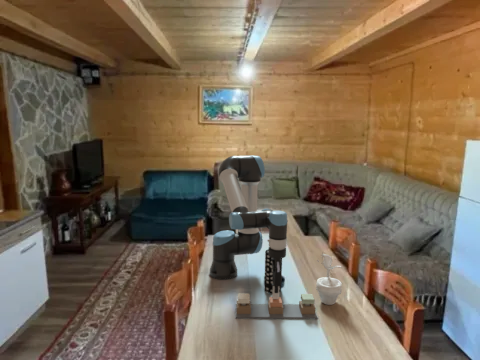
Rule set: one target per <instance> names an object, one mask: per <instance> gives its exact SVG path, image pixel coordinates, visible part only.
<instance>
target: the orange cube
mask: <svg viewBox="0 0 480 360" xmlns="http://www.w3.org/2000/svg"><path fill="white" fill-rule="evenodd" d="M268 301H269V302H270V307H282V304H283V300H282V297H281V296H279V299H273V298H272V296H269V299H268Z"/></svg>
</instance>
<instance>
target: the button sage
mask: <svg viewBox="0 0 480 360" xmlns="http://www.w3.org/2000/svg"><path fill="white" fill-rule="evenodd" d="M300 301H302V303H303V304H305V306H310V304H314V305H315V297H314V294H312V293H300Z"/></svg>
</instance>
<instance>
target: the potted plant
mask: <svg viewBox="0 0 480 360" xmlns="http://www.w3.org/2000/svg"><path fill="white" fill-rule="evenodd" d="M320 256H321V258H322V260H323V261H322V262H321V263H320V264H321V266H323V267H324V269H326V276H324V277H319V278H317V280H316V287H315V289H316V292H318V295H319V298H320V301H321V303H322V304H325V305H329V306H331V305H334V304H336V302H337V300H338V297H339V295H341V294H342V290H343V289H342V288H343V283H342V282H341V280H340V279H337V278H335V277H331V270H334V269H335V268H338V269H339V268H341V269H342V266H341V265H333V266H332V264H333V257H332V256H330V255H329V254H326V253H324V252H323V251H322V253H321V254H320ZM316 261H317V263H319V262H320V260H319V259H317V260H316Z"/></svg>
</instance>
